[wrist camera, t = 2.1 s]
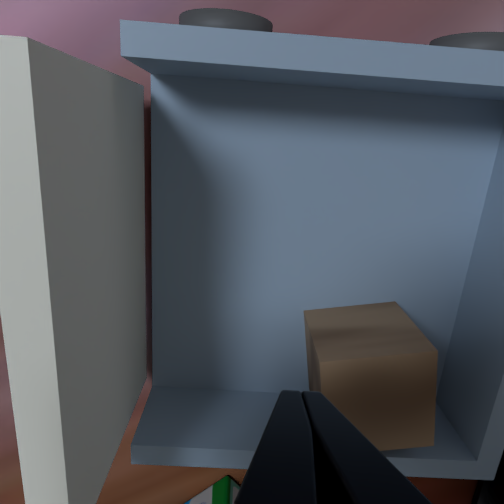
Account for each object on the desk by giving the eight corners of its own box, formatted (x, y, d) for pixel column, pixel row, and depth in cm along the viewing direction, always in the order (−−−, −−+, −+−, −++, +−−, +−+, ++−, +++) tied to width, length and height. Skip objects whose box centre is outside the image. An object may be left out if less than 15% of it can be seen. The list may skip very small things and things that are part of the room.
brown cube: (394, 379, 21) (434, 445, 16) (309, 387, 21) (325, 455, 16) (395, 301, 19) (438, 350, 15) (303, 310, 19) (319, 362, 15)
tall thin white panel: (146, 377, 20) (73, 559, 12) (123, 376, 20) (32, 557, 12) (143, 86, 16) (27, 37, 8) (114, 83, 16) (-37, 31, 8)
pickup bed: (433, 413, 23) (488, 497, 18) (158, 399, 23) (131, 481, 17) (521, 57, 17) (640, 26, 12) (158, 27, 17) (118, -19, 12)
